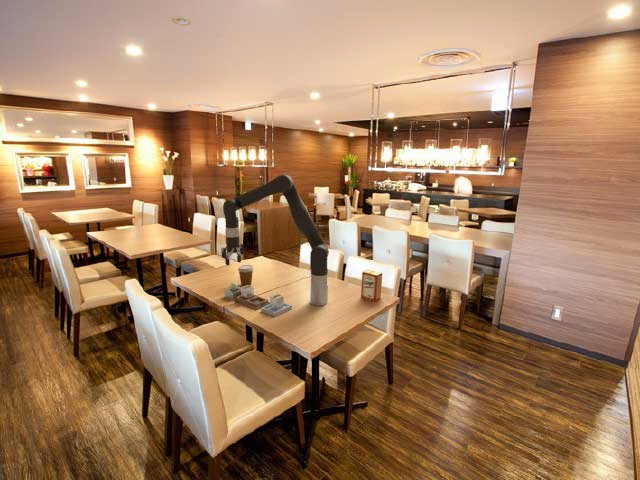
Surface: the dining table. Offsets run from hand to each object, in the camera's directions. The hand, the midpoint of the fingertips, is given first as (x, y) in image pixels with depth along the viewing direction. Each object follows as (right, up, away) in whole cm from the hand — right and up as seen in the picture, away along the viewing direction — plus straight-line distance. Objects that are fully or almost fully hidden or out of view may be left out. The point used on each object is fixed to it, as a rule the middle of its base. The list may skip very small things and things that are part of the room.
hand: (233, 263), depth 184 cm
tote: (+26, -24, -11) cm, 37 cm away
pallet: (+11, -21, -3) cm, 24 cm away
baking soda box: (+79, -21, +8) cm, 82 cm away
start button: (0, -15, +4) cm, 16 cm away
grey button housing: (0, -19, +5) cm, 20 cm away
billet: (+26, -23, -11) cm, 37 cm away
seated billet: (+8, -20, -1) cm, 21 cm away
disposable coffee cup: (+2, -15, +24) cm, 28 cm away
